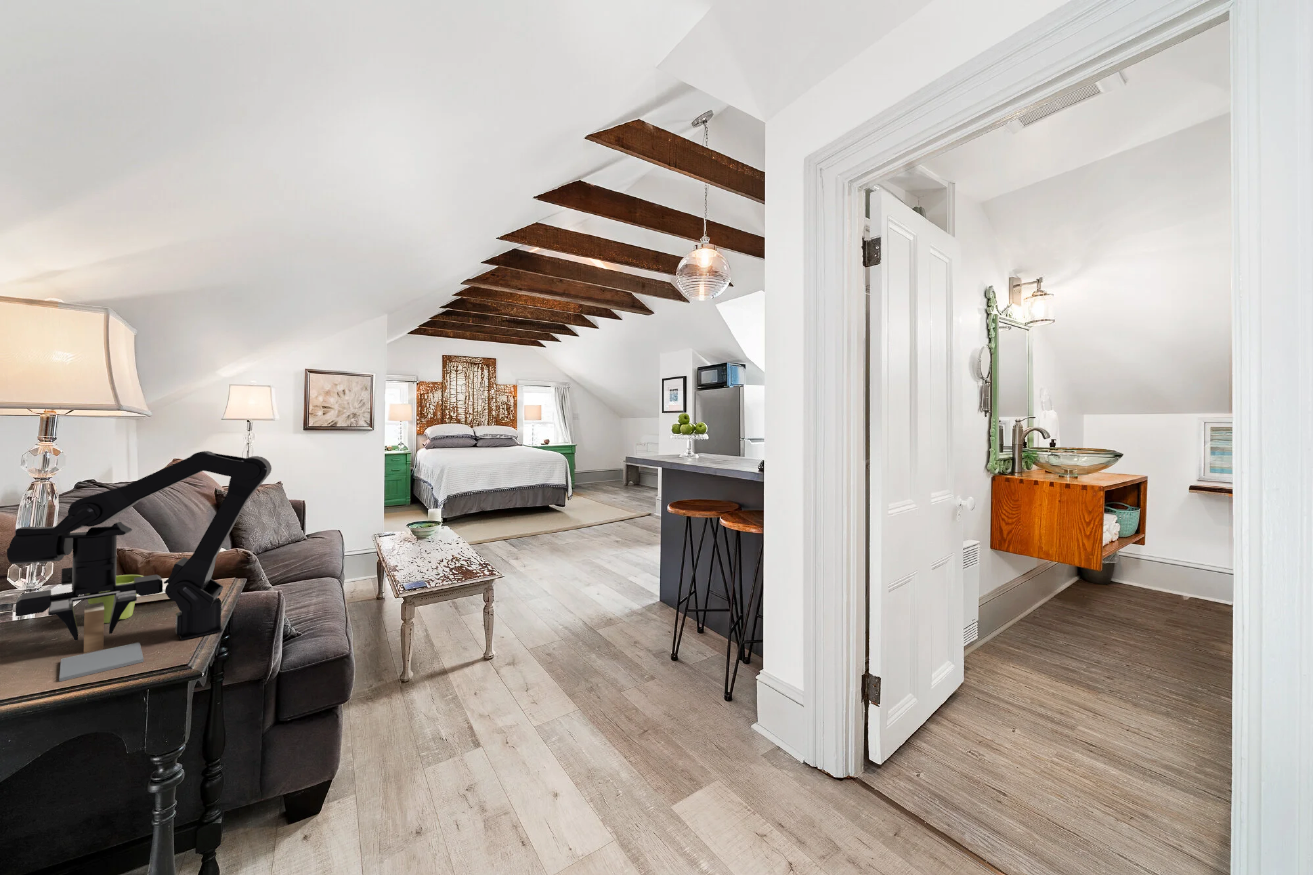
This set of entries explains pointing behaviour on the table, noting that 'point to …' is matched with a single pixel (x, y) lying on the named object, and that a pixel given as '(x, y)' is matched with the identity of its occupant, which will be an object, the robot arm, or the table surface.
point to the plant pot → (110, 599)
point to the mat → (100, 661)
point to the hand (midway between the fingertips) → (93, 636)
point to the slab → (93, 627)
